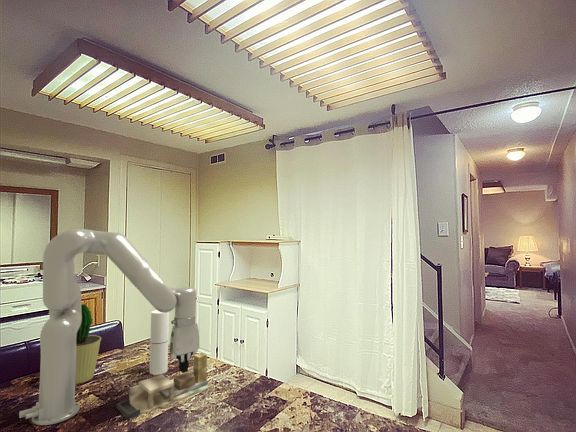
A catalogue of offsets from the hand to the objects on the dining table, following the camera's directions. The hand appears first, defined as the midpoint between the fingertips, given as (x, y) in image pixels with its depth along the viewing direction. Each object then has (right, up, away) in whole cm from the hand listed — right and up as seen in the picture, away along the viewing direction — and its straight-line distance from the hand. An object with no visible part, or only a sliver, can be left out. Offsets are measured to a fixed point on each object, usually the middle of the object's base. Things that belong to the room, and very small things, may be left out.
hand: (183, 371), depth 123 cm
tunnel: (-5, -7, -6) cm, 11 cm away
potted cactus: (-46, -8, +10) cm, 47 cm away
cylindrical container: (-16, -8, +17) cm, 25 cm away
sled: (0, -6, 0) cm, 6 cm away
